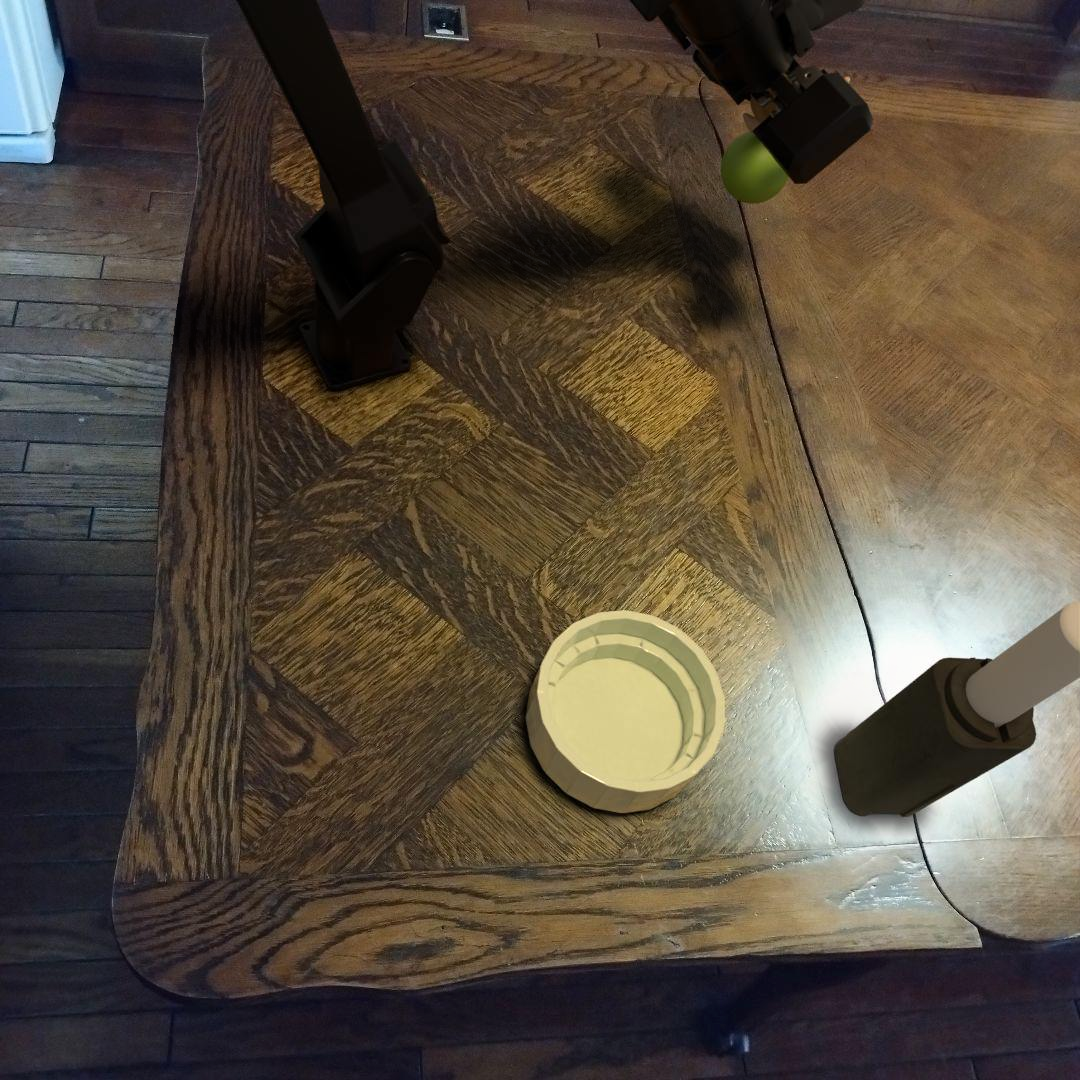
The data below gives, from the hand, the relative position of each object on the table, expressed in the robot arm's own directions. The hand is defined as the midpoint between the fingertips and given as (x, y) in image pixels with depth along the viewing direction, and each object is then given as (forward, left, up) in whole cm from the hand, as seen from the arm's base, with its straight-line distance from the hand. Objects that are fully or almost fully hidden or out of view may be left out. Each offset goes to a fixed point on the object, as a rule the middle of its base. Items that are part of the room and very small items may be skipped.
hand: (792, 125), depth 75 cm
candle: (-43, +18, -13) cm, 49 cm away
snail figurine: (0, +1, -7) cm, 7 cm away
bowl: (-33, +32, -13) cm, 48 cm away
